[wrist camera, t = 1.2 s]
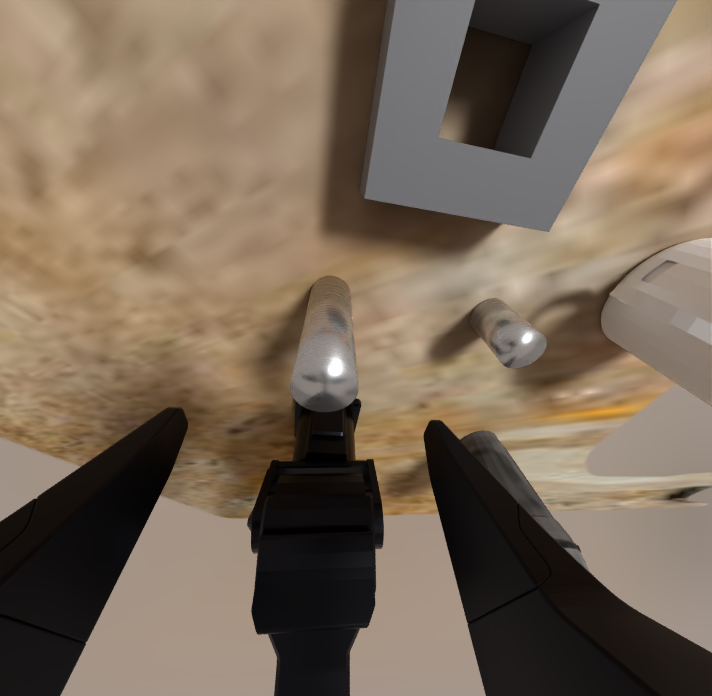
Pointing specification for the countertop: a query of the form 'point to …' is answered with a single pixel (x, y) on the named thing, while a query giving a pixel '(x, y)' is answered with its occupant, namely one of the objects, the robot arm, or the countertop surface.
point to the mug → (668, 315)
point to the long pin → (326, 350)
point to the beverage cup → (518, 486)
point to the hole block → (525, 114)
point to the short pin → (507, 333)
